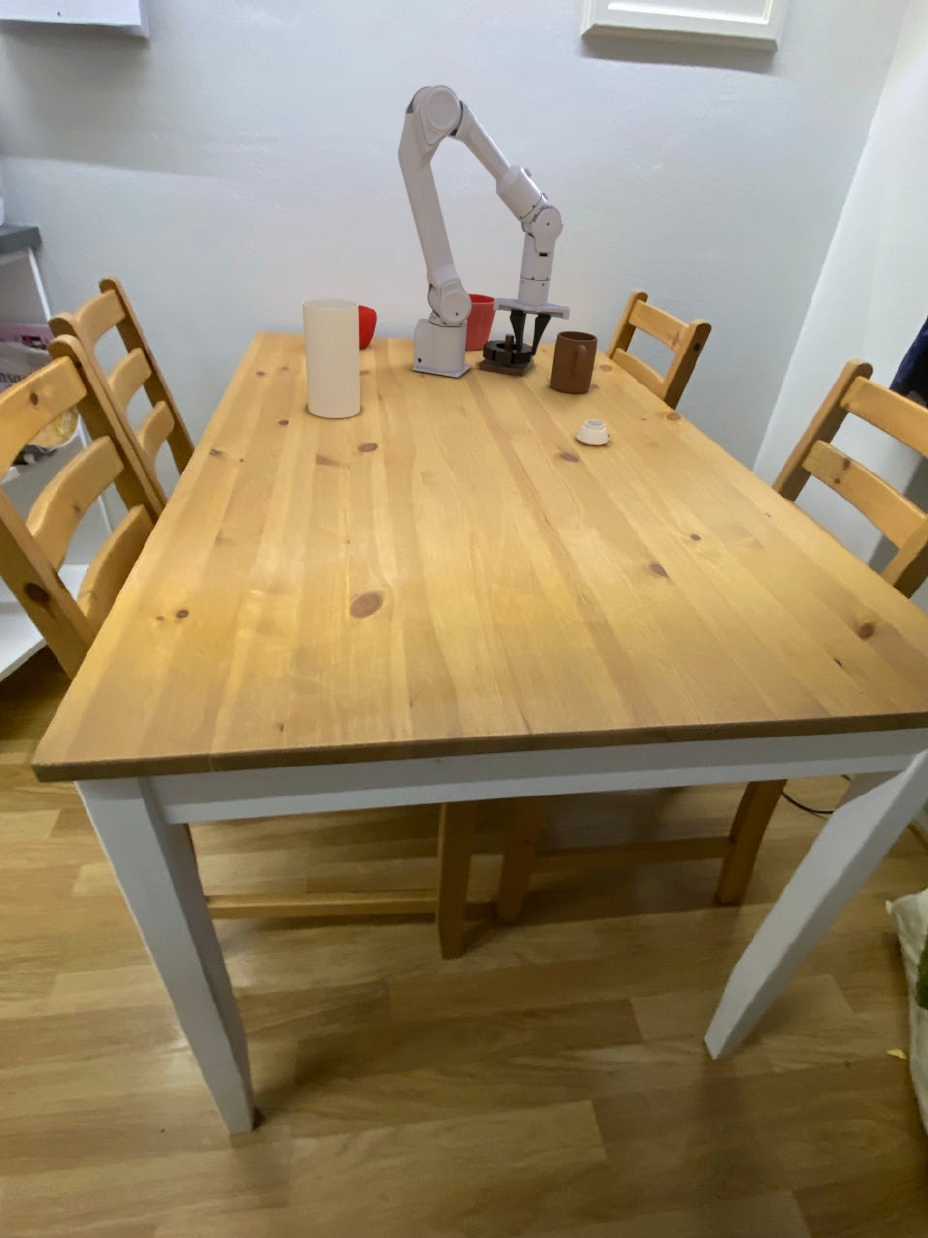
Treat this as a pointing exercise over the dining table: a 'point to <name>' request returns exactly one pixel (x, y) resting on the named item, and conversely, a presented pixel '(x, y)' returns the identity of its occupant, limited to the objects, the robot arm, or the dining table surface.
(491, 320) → the flower pot
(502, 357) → the ring
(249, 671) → the dining table surface
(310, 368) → the cup
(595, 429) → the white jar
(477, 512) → the dining table surface
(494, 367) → the post
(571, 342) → the mug
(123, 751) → the dining table surface
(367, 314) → the apple
